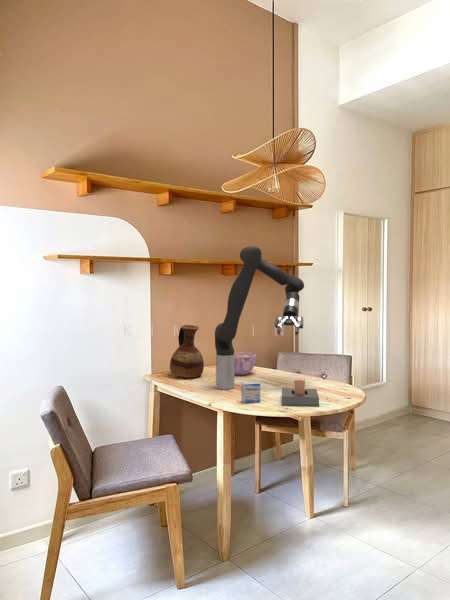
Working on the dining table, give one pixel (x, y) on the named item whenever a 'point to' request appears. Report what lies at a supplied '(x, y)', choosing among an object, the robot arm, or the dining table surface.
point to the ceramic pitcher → (187, 354)
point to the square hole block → (300, 398)
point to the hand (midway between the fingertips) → (287, 333)
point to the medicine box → (250, 392)
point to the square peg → (299, 386)
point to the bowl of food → (243, 362)
